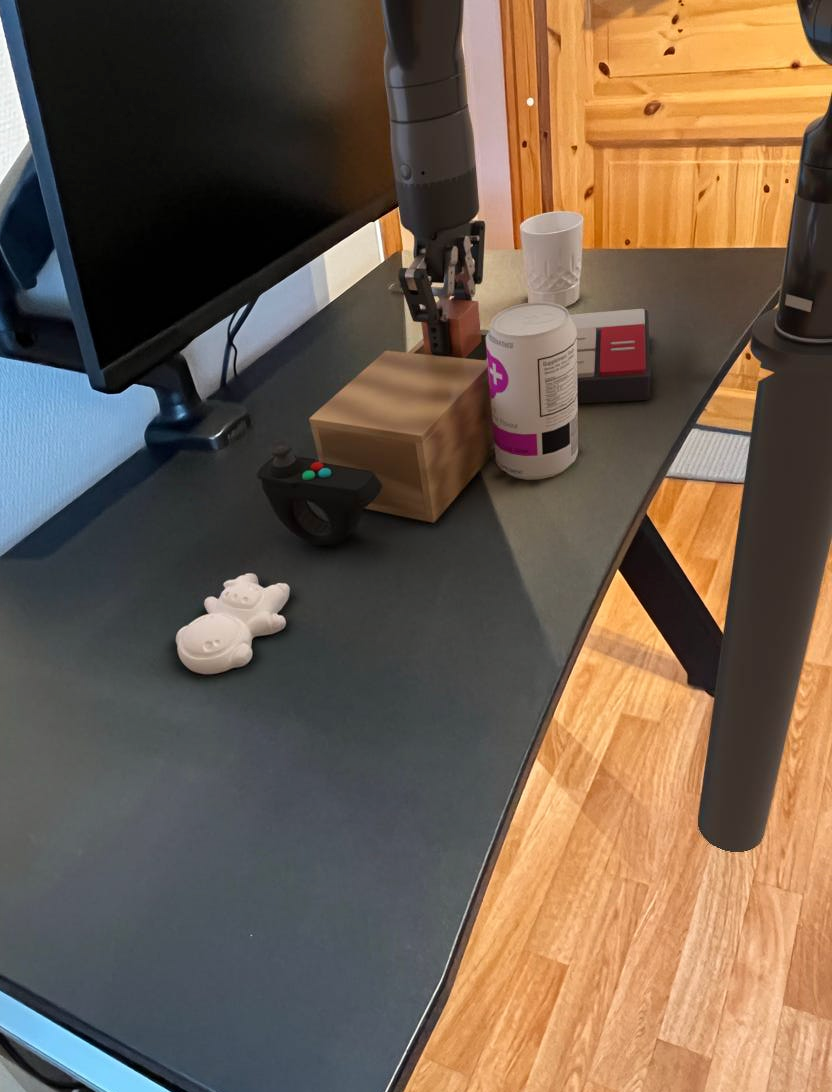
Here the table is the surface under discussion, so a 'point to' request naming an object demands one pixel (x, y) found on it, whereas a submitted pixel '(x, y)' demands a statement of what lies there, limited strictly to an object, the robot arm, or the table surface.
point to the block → (460, 328)
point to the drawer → (476, 354)
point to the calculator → (612, 356)
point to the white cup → (552, 256)
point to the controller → (316, 495)
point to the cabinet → (411, 429)
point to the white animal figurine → (232, 625)
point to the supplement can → (533, 389)
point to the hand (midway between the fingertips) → (453, 342)
